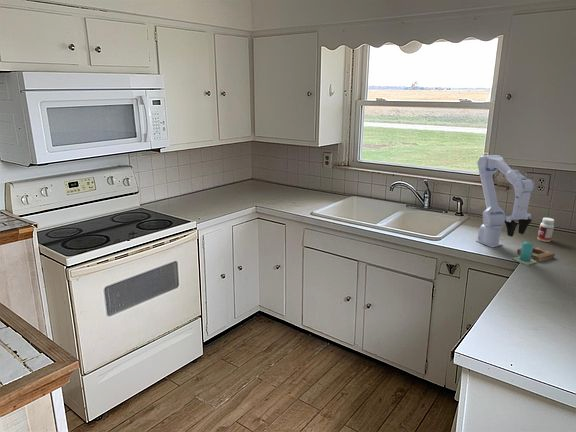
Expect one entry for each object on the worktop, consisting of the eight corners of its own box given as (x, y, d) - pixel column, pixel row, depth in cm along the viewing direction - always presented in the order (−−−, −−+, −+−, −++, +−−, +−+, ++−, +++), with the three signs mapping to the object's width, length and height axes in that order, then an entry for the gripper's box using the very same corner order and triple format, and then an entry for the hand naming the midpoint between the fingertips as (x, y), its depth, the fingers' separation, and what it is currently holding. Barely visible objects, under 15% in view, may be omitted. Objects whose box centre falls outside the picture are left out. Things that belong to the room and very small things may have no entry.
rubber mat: (512, 259, 200) (512, 258, 199) (522, 256, 203) (522, 255, 203) (526, 265, 194) (526, 264, 194) (536, 262, 197) (537, 261, 197)
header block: (516, 253, 207) (517, 249, 206) (531, 249, 212) (532, 245, 211) (538, 261, 198) (539, 257, 197) (554, 257, 202) (554, 253, 202)
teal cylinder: (517, 258, 199) (520, 242, 196) (523, 257, 201) (527, 240, 198) (525, 262, 195) (529, 245, 193) (532, 260, 197) (536, 244, 195)
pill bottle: (534, 237, 227) (538, 217, 223) (545, 237, 227) (550, 217, 224) (542, 242, 221) (546, 221, 217) (553, 242, 221) (558, 220, 218)
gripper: (518, 210, 190) (512, 239, 194) (539, 206, 196) (533, 235, 200) (504, 206, 196) (499, 234, 200) (525, 202, 202) (519, 230, 206)
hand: (515, 234), depth 200 cm, fingers open, 7 cm apart
